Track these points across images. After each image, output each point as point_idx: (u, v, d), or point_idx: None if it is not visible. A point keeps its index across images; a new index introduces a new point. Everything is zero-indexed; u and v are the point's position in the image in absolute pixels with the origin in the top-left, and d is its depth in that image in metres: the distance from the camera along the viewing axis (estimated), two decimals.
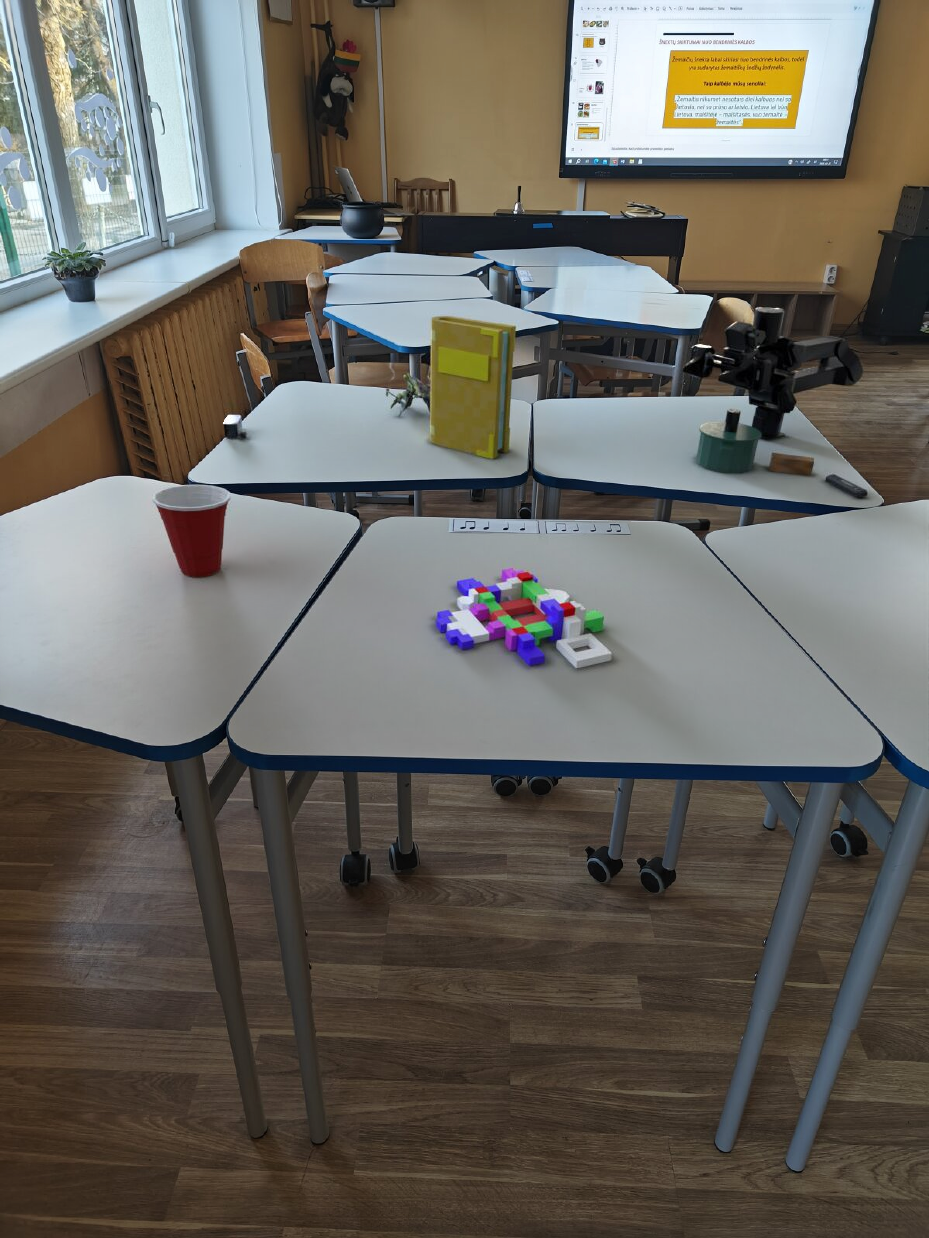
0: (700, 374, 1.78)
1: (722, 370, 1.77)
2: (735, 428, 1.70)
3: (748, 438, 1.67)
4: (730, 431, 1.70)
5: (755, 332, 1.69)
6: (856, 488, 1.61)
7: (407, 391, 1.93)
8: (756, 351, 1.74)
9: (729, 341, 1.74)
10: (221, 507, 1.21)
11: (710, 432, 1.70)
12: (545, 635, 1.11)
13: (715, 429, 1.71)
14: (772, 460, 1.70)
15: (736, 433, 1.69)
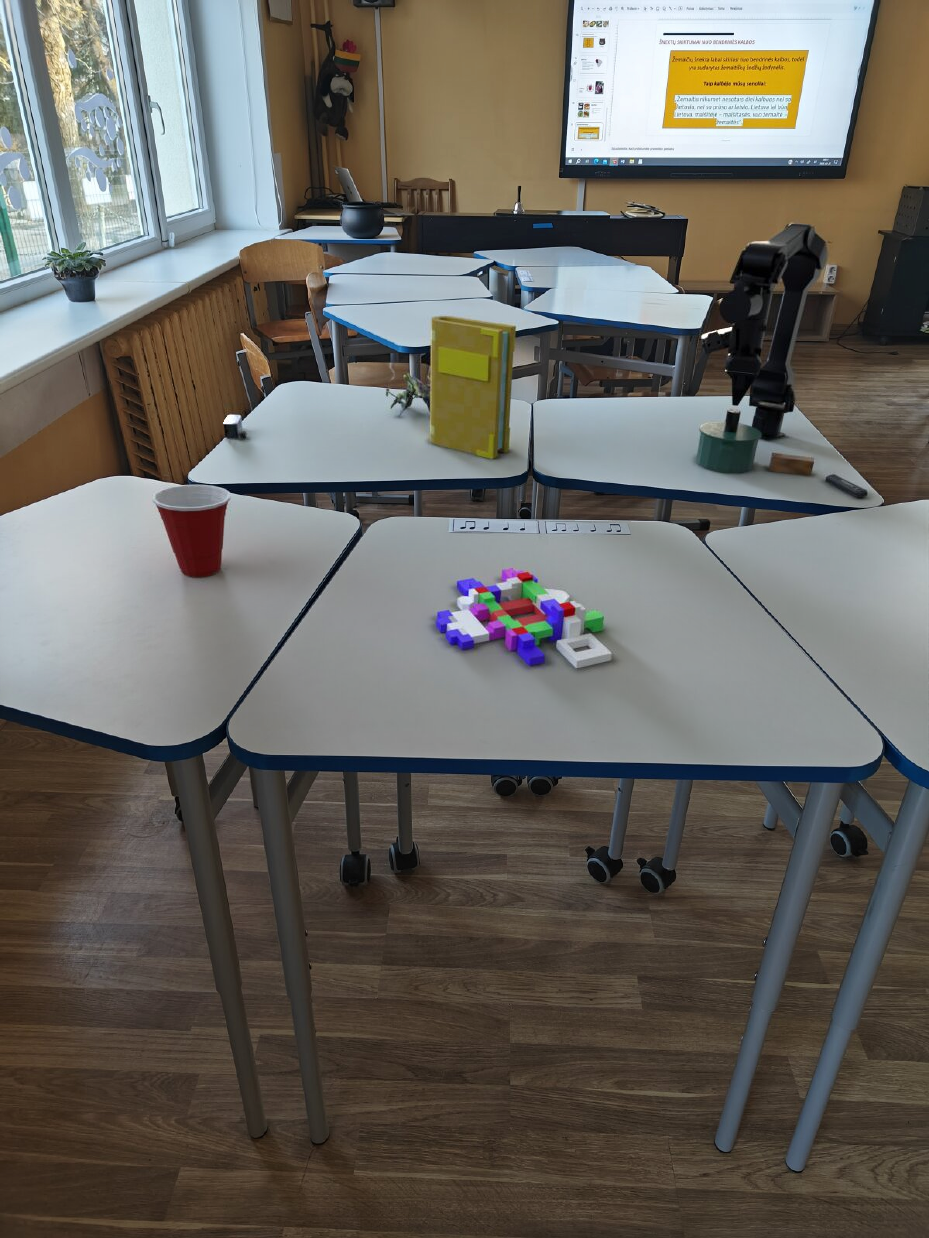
0: None
1: None
2: (735, 428, 1.70)
3: (748, 438, 1.67)
4: (730, 431, 1.70)
5: (706, 345, 1.62)
6: (856, 488, 1.61)
7: (407, 391, 1.93)
8: (733, 330, 1.60)
9: None
10: (221, 507, 1.21)
11: (710, 432, 1.70)
12: (545, 635, 1.11)
13: (715, 429, 1.71)
14: (772, 460, 1.70)
15: (736, 433, 1.69)
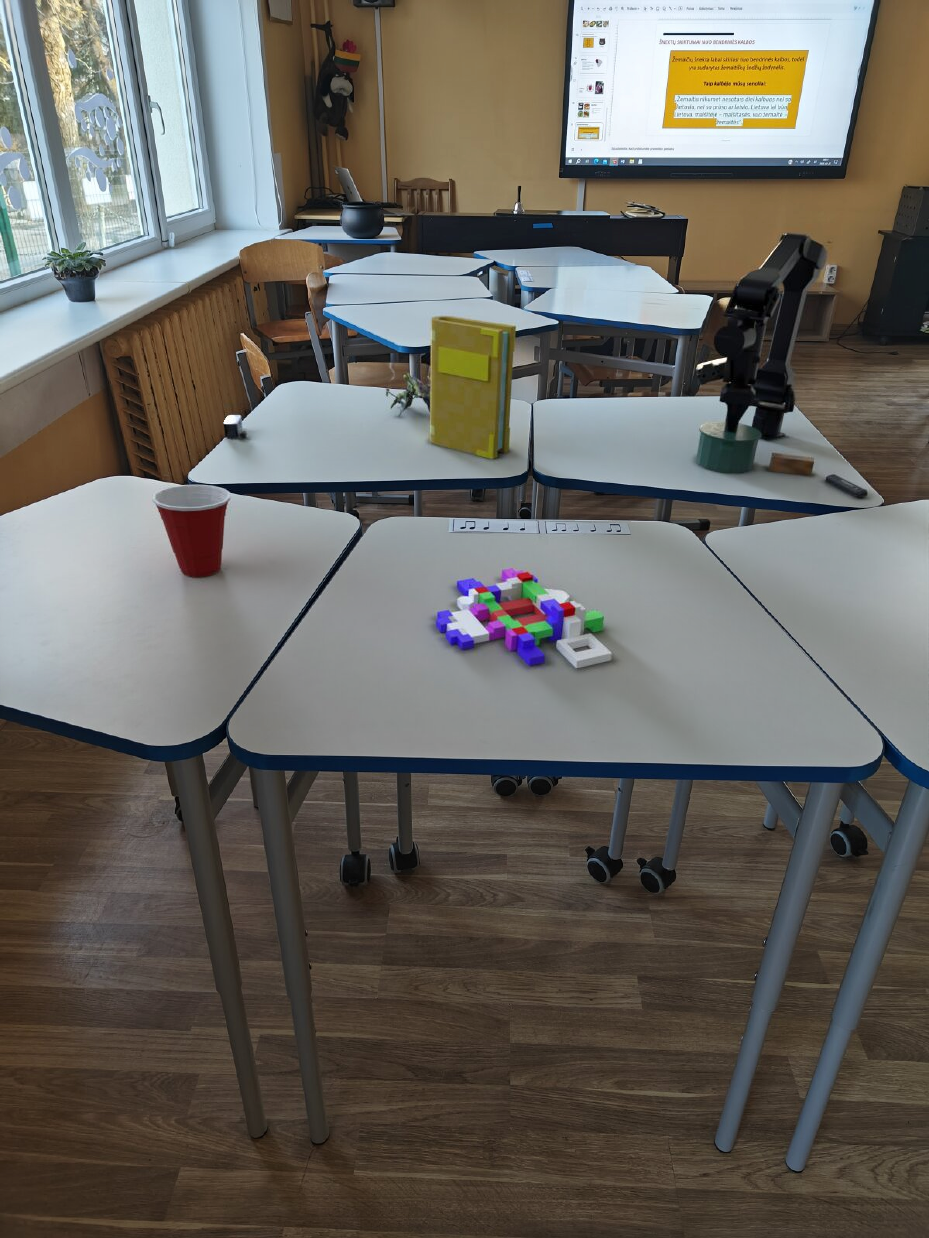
0: None
1: None
2: (735, 428, 1.70)
3: (748, 438, 1.67)
4: (730, 431, 1.70)
5: (701, 376, 1.64)
6: (856, 488, 1.61)
7: (407, 391, 1.93)
8: (727, 361, 1.63)
9: None
10: (221, 507, 1.21)
11: (710, 432, 1.70)
12: (545, 635, 1.11)
13: (715, 429, 1.71)
14: (772, 460, 1.70)
15: (736, 433, 1.69)
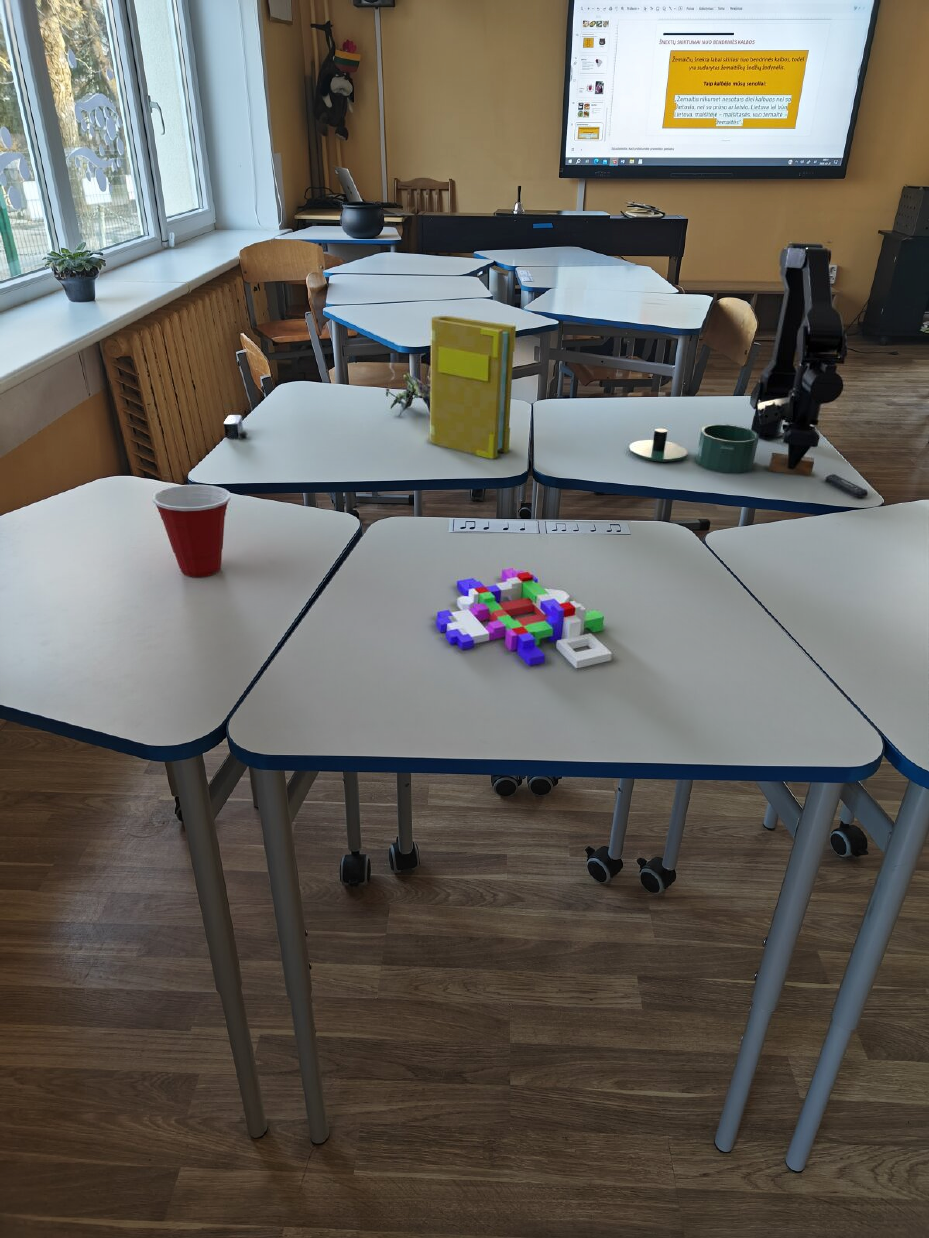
0: None
1: None
2: (662, 447, 1.76)
3: (674, 457, 1.74)
4: (658, 450, 1.77)
5: (763, 416, 1.65)
6: (856, 488, 1.61)
7: (407, 391, 1.93)
8: (790, 402, 1.63)
9: None
10: (221, 507, 1.21)
11: (638, 451, 1.76)
12: (545, 635, 1.11)
13: (644, 448, 1.78)
14: (772, 460, 1.70)
15: (663, 452, 1.76)
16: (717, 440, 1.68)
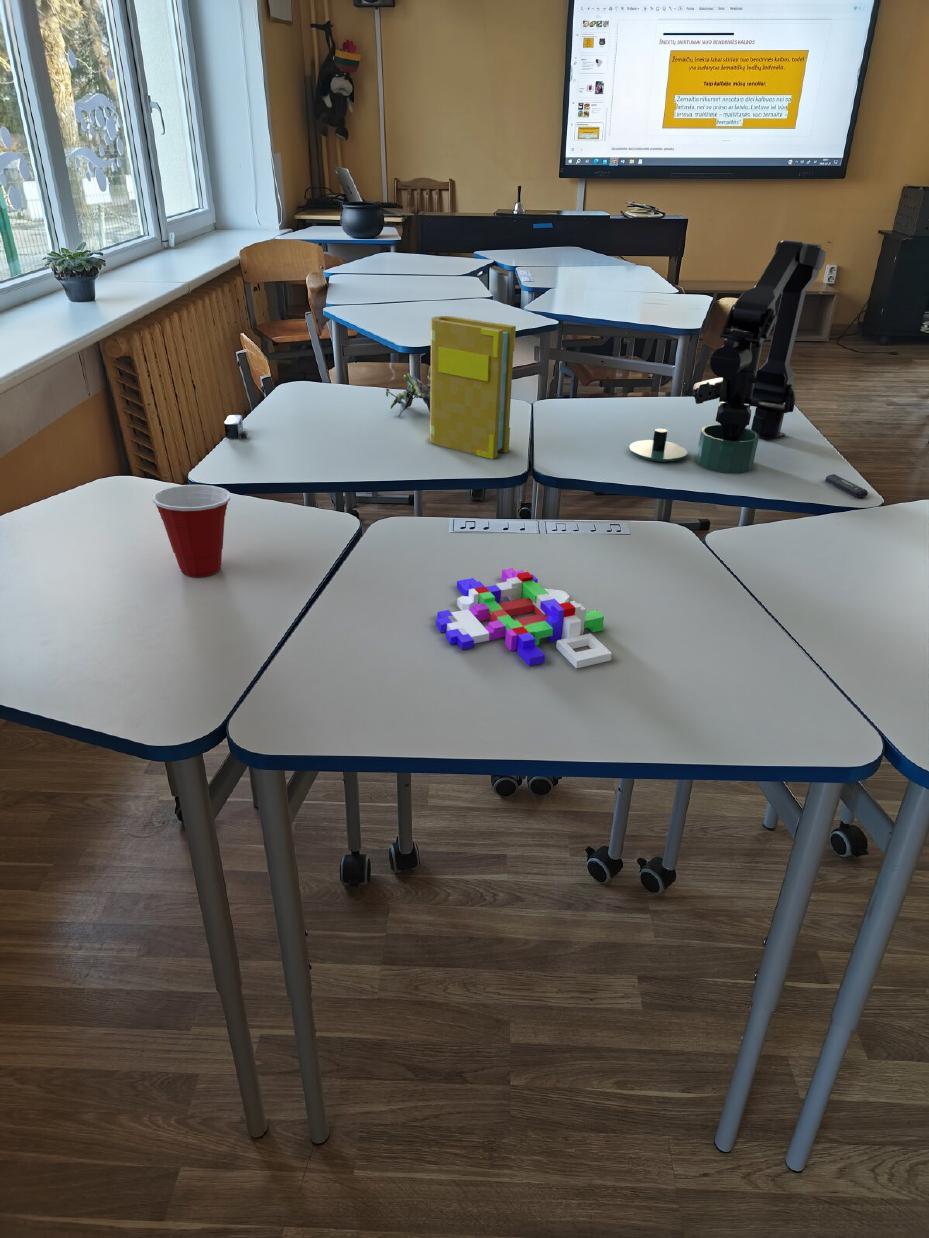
0: None
1: None
2: (662, 447, 1.76)
3: (674, 457, 1.74)
4: (658, 450, 1.77)
5: (697, 396, 1.66)
6: (856, 488, 1.61)
7: (407, 391, 1.93)
8: (723, 381, 1.65)
9: None
10: (221, 507, 1.21)
11: (638, 451, 1.76)
12: (545, 635, 1.11)
13: (644, 448, 1.78)
14: None
15: (663, 452, 1.76)
16: (717, 440, 1.68)
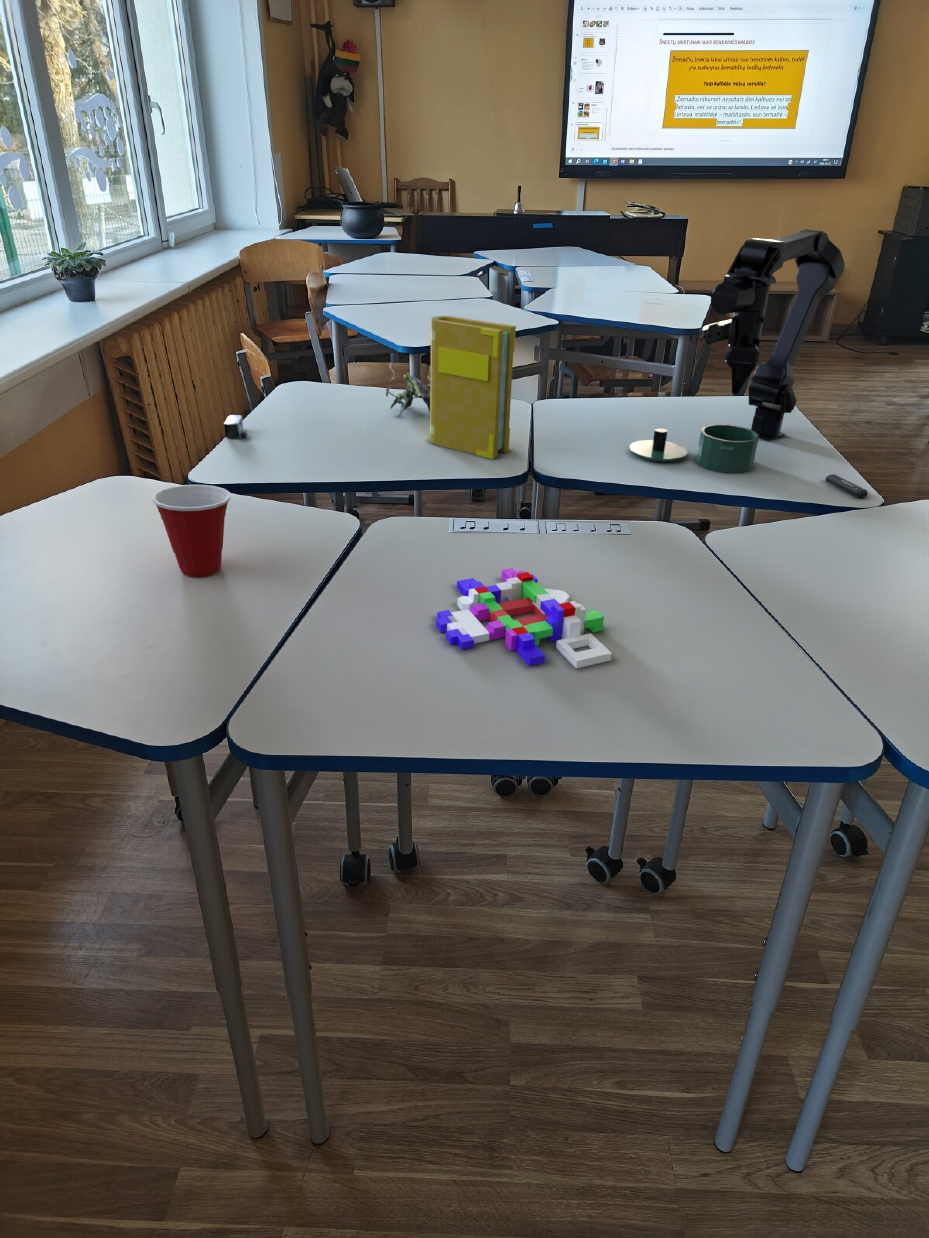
0: None
1: None
2: (662, 447, 1.76)
3: (674, 457, 1.74)
4: (658, 450, 1.77)
5: (706, 336, 1.69)
6: (856, 488, 1.61)
7: (407, 391, 1.93)
8: (732, 322, 1.68)
9: None
10: (221, 507, 1.21)
11: (638, 451, 1.76)
12: (545, 635, 1.11)
13: (644, 448, 1.78)
14: None
15: (663, 452, 1.76)
16: (717, 440, 1.68)
